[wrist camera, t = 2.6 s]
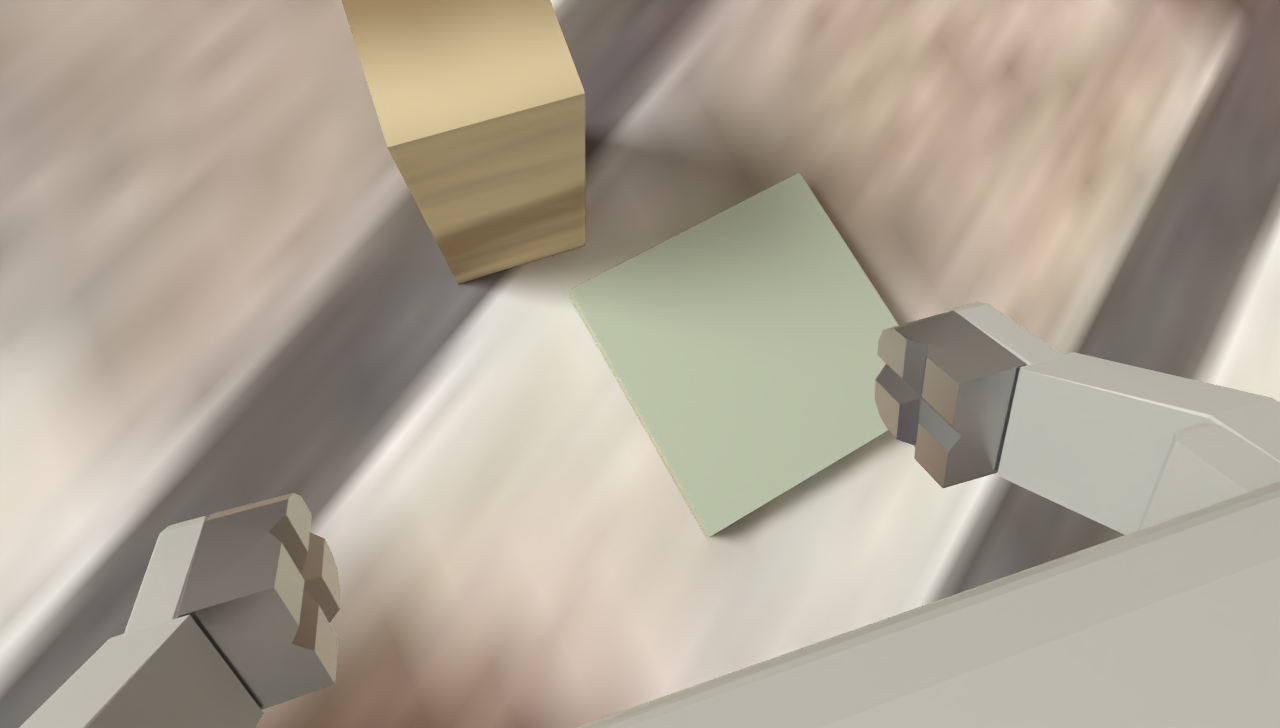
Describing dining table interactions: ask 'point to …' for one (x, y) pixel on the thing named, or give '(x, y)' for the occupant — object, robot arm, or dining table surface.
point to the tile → (744, 349)
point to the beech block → (480, 123)
